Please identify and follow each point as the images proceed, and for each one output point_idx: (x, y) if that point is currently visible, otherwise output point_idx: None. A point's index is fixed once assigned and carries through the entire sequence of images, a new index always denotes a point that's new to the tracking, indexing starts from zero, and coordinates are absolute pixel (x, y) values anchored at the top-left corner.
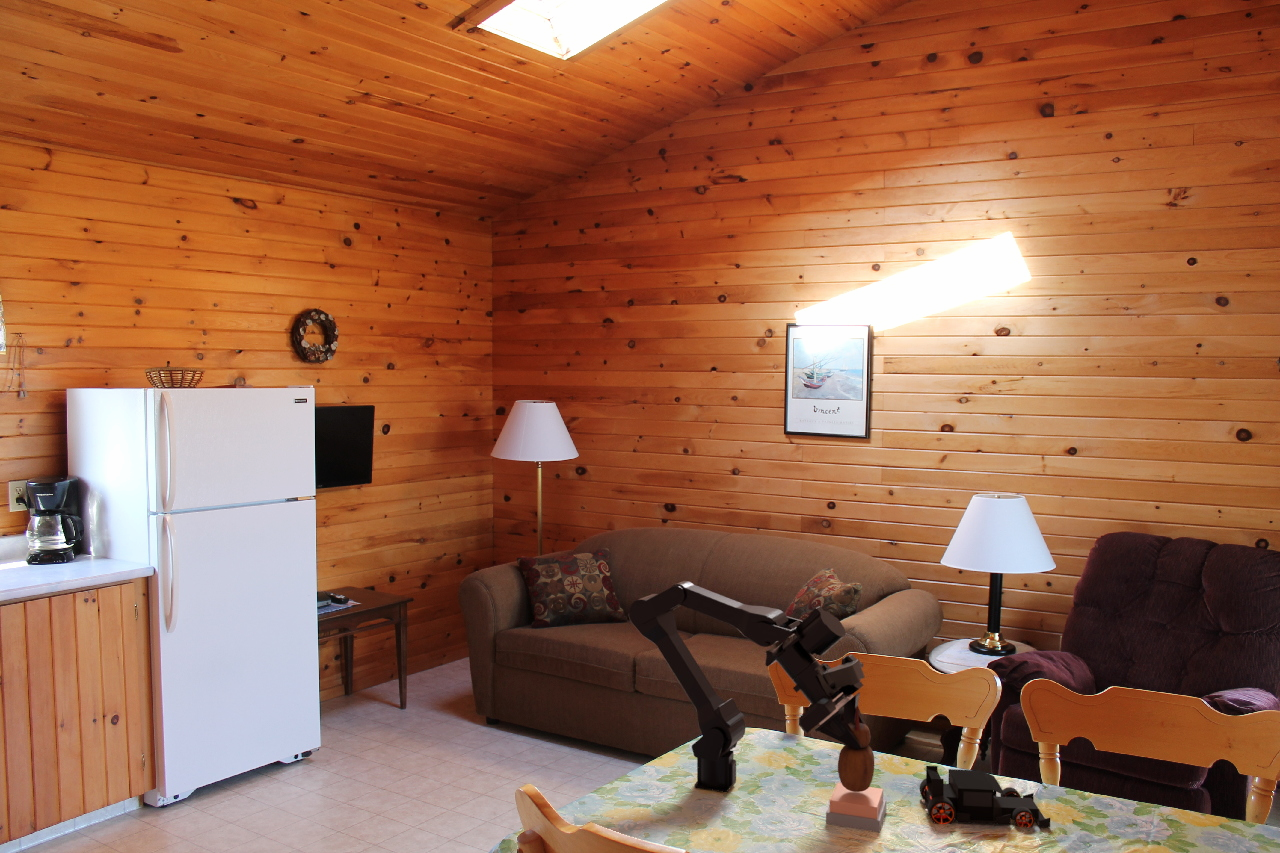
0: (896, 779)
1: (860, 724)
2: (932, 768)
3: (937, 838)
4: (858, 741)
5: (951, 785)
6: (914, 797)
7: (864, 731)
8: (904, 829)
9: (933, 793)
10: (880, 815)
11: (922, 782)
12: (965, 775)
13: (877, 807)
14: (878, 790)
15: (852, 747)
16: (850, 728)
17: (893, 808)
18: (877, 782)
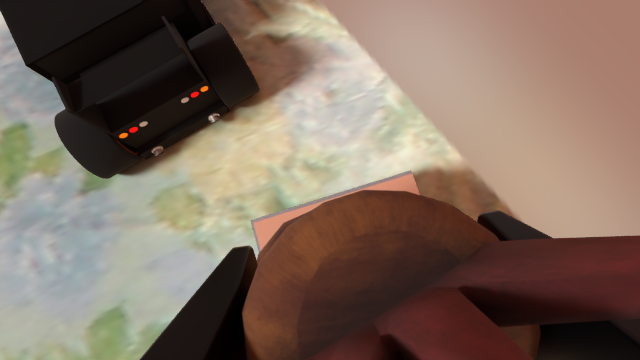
0: (18, 296)
1: (359, 297)
2: (68, 94)
3: (336, 51)
4: (509, 231)
5: (94, 61)
6: (124, 196)
7: (434, 207)
8: (341, 134)
9: (200, 71)
10: (374, 184)
11: (91, 160)
12: (54, 4)
13: (402, 177)
14: (275, 230)
15: None
16: (615, 323)
17: (231, 213)
18: (71, 338)
